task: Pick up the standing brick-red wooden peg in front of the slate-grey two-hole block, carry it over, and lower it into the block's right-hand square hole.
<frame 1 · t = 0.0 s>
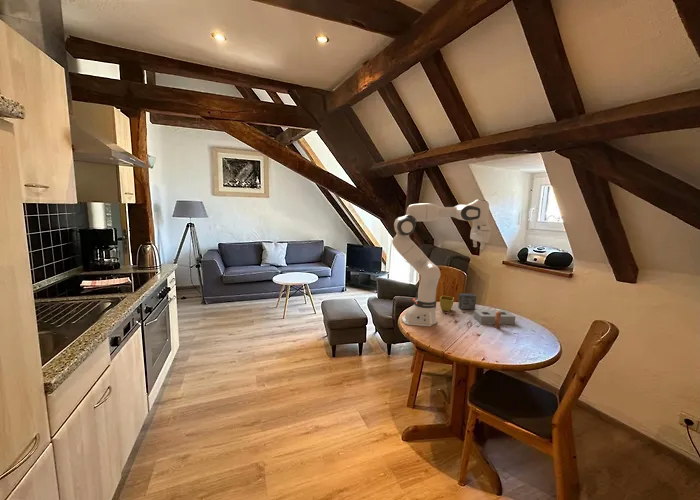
hand: (478, 248, 196), 48 cm above the table, fingers open, 8 cm apart
small box: (466, 308, 228), on the table
hole block: (493, 320, 205), on the table
peg: (497, 327, 195), on the table
flower pot: (446, 310, 224), on the table
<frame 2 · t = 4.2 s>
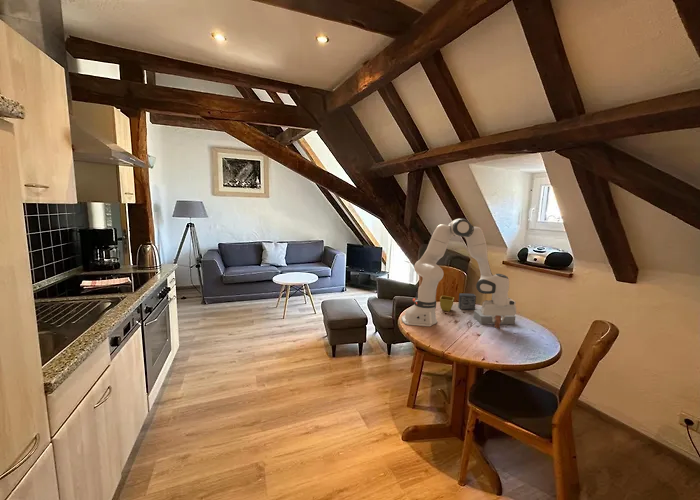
hand: (497, 321, 194), 4 cm above the table, fingers closed on peg, 3 cm apart
peg: (497, 327, 195), on the table, touching gripper
everything else where it was.
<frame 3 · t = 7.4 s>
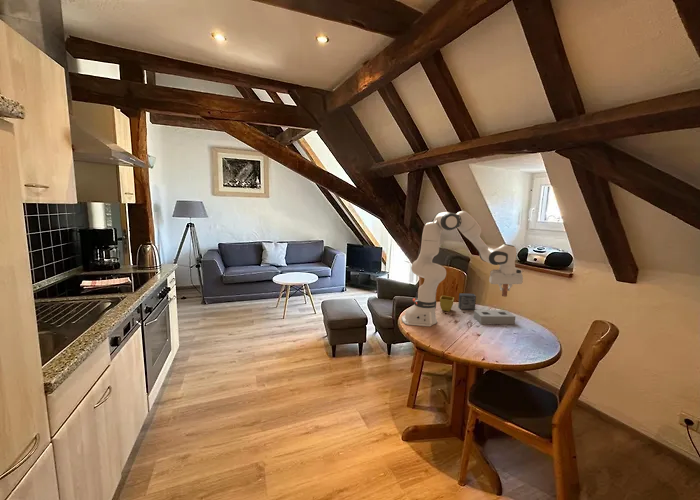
hand: (504, 290, 202), 20 cm above the table, fingers closed on peg, 3 cm apart
peg: (504, 295, 203), point 17 cm above the table, touching gripper
everything else where it was.
when the fingers open (6 cm above the table, at t = 10.9 s): peg drops 2 cm, resting in hole block.
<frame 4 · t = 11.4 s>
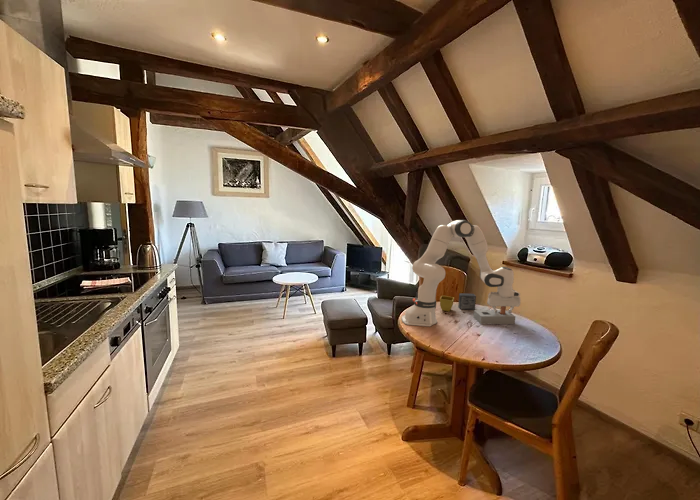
hand: (502, 312, 205), 6 cm above the table, fingers open, 8 cm apart
peg: (501, 320, 206), resting in hole block
everything else where it was.
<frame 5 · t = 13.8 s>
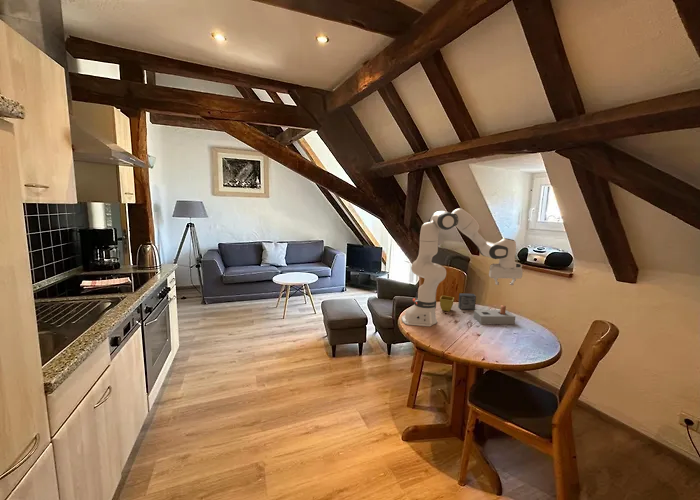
hand: (504, 284, 202), 24 cm above the table, fingers open, 8 cm apart
nothing on the table moved.
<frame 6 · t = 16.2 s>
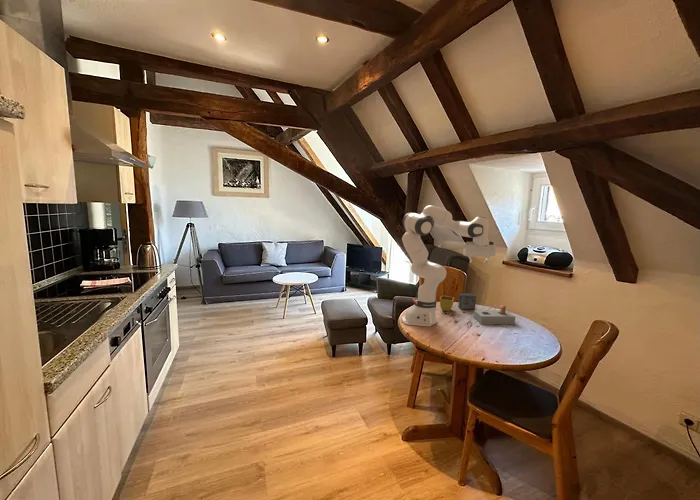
hand: (478, 262, 206), 37 cm above the table, fingers open, 8 cm apart
nothing on the table moved.
at the end: peg 0.0 cm from the target spot on the hole block, point 0.0 cm above the hole block's base; peg tilted 0°; the gripper is holding nothing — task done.
